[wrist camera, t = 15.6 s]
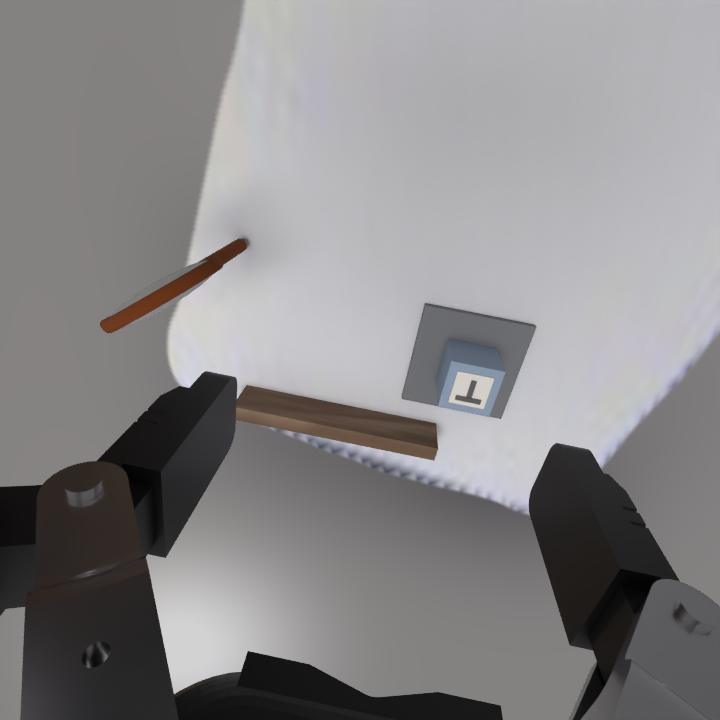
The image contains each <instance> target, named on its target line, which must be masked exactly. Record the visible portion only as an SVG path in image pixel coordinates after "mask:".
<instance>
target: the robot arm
mask: <svg viewBox="0 0 720 720" xmlns="http://www.w3.org/2000/svg"><path fill="white" fill-rule="evenodd" d="M236 401H237V380H236V378H235V377H232V376H227V375H222V374H217V373H212V372H207V371H205V372H204V373H202V374H201V376H200V377H199V378H198V379H197V380H196V381H195V382H194V383H193V385H192V386H191V387H190V388H186V387H181V386H179V387H177V388H175V389H173V390H171V391H169V392H167V393H165V394H163V395H161V396H160V397H159V398H158V399H157V400H156V401H155V402H154V403H153V404H152V405H151V406H150V407H149V408H148V411H145V412H144V413H143V414H142V415H141V416H140V417H139V418H138V421H137V422H134V423H133V424H132V426H130V428H128V430H126V432H125V433H124V434H123V435H122V436H121V437H120V438H119V439H118V440H117V441H116V442H115V443H114V444H113V445H112V446H111V447H110V448H109V449H108V450H107V451H106V452H105V453H104V454H103V455H102V456H101V457H100V458H99V459H98V460H97V461H92V462H91V461H90V462H83V463H79V464H75V465H72V466H69V467H67V468H64V469H63V470H60V471H59V472H57V473H55V474H54V475H52V476H51V477H50V478H49V479H47V480H46V481H45V482H44V483H43V485H36V486H12V487H0V615H1V614H2V613H3V612H4V610H5V609H8V608H17V607H25V622H24V646H23V669H22V670H23V671H22V694H21V718H20V720H503V718H502V712H501V706H499V705H495V704H490V703H486V702H481V701H476V700H472V699H467V698H462V697H458V696H453V695H449V694H444V693H439V692H435V693H424V694H412V695H401V696H390V697H371V696H368V695H365V694H363V693H362V692H360V691H358V690H356V689H354V688H352V687H350V686H349V685H347V684H345V683H343V682H341V681H339V680H337V679H336V678H334V677H332V676H330V675H328V674H326V673H324V672H322V671H321V670H319V669H317V668H315V667H313V666H311V665H309V664H305V663H300V662H296V661H291V660H286V659H282V658H277V657H272V656H268V655H263V654H259V653H254V652H249V651H248V653H247V656H246V659H245V662H244V665H243V669H242V671H241V672H235V673H227V674H223V675H219V676H214V677H211V678H208V679H205V680H202V681H200V682H197V683H195V684H193V685H191V686H189V687H187V688H185V689H183V690H181V691H179V692H177V693H176V694H174V693H173V688H172V683H171V678H170V673H169V668H168V664H167V658H166V653H165V648H164V644H163V638H162V634H161V629H160V623H159V619H158V614H157V609H156V604H155V599H154V594H153V589H152V584H151V579H150V574H149V569H148V565H147V560H146V556H147V554H150V555H155V556H160V557H165V558H166V556H167V555H168V553H169V551H170V550H171V548H172V546H173V545H174V543H175V541H176V539H177V538H178V536H179V534H180V533H181V531H182V529H183V528H184V526H185V524H186V522H187V521H188V519H189V517H190V516H191V514H192V512H193V511H194V509H195V507H196V506H197V504H198V502H199V500H200V499H201V497H202V495H203V494H204V492H205V490H206V489H207V487H208V485H209V483H210V481H211V480H212V478H213V477H214V475H215V473H216V471H217V470H218V468H219V466H220V465H221V463H222V461H223V459H224V458H225V456H226V455H227V453H228V451H229V449H230V447H231V444H232V441H233V438H234V433H235V422H236ZM636 511H637V509H636V507H635V506H634V504H633V502H632V501H631V499H630V497H629V495H628V494H627V492H626V491H625V490H624V489H623V488H622V487H621V486H620V485H619V484H618V483H617V482H616V481H615V480H614V479H613V478H612V477H611V476H609V475H608V474H604V473H603V472H602V470H601V468H600V466H599V465H598V463H597V461H596V459H595V458H594V456H593V454H592V453H591V451H590V450H588V449H583V448H578V447H574V446H569V445H564V444H559V443H556V444H554V445H553V446H552V447H551V449H550V451H549V453H548V455H547V457H546V459H545V461H544V464H543V466H542V468H541V470H540V472H539V474H538V477H537V479H536V481H535V483H534V485H533V487H532V490H531V493H530V498H529V513H530V517H531V520H532V523H533V527H534V530H535V533H536V536H537V540H538V543H539V546H540V549H541V552H542V556H543V559H544V563H545V566H546V569H547V572H548V575H549V579H550V582H551V585H552V589H553V592H554V595H555V599H556V602H557V605H558V608H559V612H560V615H561V618H562V621H563V625H564V628H565V631H566V634H567V638H568V641H569V644H570V645H571V646H576V647H580V648H585V649H590V650H593V651H594V654H595V657H596V660H597V661H596V663H595V664H594V665H593V667H592V668H591V670H590V672H589V674H588V676H587V678H586V681H585V683H584V685H583V687H582V690H581V692H580V694H579V696H578V699H577V701H576V703H575V705H574V708H573V710H572V712H571V715H570V717H569V719H568V720H720V606H719V605H718V604H716V603H715V602H714V601H713V600H712V599H710V598H709V597H708V596H706V595H705V594H704V593H702V592H701V591H699V590H697V589H695V588H693V587H691V586H690V585H687V584H685V583H682V582H680V581H679V579H678V578H677V576H676V574H675V573H674V571H673V569H672V567H671V566H670V564H669V563H668V561H667V559H666V557H665V556H664V554H663V552H662V551H661V549H660V547H659V546H658V544H657V542H656V541H655V539H654V537H653V536H652V534H651V532H650V531H649V529H648V528H646V527H645V526H646V524H645V522H644V521H643V519H642V517H641V516H640V514H639V513H637V512H636Z"/></svg>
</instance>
